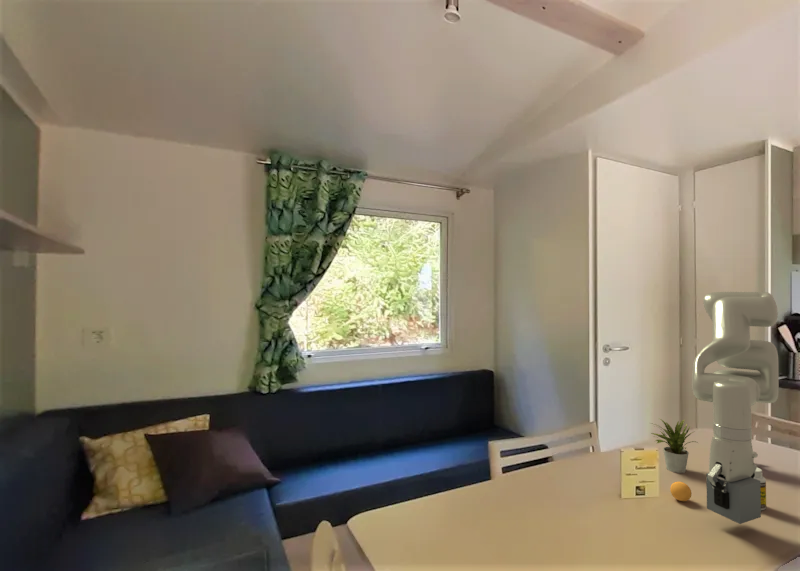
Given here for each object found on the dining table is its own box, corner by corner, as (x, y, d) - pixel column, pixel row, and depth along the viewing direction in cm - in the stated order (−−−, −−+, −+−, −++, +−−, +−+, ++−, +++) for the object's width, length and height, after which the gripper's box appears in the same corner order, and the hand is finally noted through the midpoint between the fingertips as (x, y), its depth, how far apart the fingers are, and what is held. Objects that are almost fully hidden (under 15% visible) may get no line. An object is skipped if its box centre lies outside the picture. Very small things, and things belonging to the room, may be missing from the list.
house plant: (657, 456, 154) (656, 409, 154) (704, 467, 144) (704, 417, 145) (645, 468, 144) (644, 418, 144) (694, 481, 134) (694, 427, 134)
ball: (678, 494, 126) (678, 477, 126) (695, 502, 121) (695, 484, 121) (666, 498, 124) (665, 480, 124) (683, 506, 119) (682, 487, 119)
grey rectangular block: (727, 502, 113) (726, 468, 113) (760, 517, 106) (760, 480, 106) (706, 508, 111) (706, 473, 110) (740, 524, 103) (739, 486, 103)
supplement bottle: (761, 513, 115) (761, 474, 115) (736, 505, 120) (735, 467, 120) (769, 507, 118) (769, 469, 118) (744, 499, 123) (744, 462, 123)
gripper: (738, 422, 115) (739, 489, 115) (692, 432, 108) (693, 503, 109) (771, 431, 108) (772, 502, 108) (724, 442, 101) (725, 518, 102)
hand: (733, 502), depth 108 cm, fingers closed on grey rectangular block, 7 cm apart
